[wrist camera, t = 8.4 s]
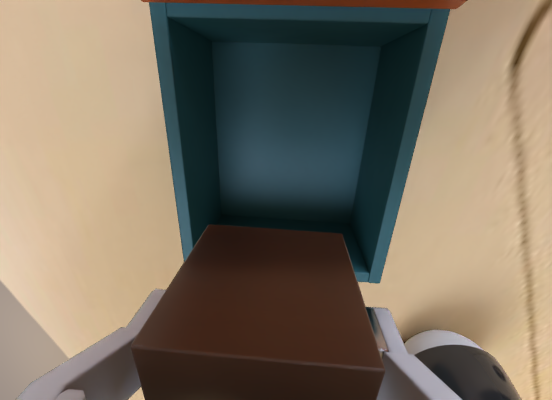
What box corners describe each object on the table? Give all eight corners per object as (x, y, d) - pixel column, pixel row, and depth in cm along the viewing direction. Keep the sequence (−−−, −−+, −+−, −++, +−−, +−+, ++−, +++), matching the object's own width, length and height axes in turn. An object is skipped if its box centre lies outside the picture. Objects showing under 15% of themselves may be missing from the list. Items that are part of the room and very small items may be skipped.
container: (355, 226, 24) (379, 283, 17) (216, 217, 25) (184, 268, 18) (391, 35, 18) (452, 2, 11) (203, 30, 19) (147, -5, 12)
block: (208, 223, 10) (128, 346, 5) (342, 233, 9) (387, 371, 5) (215, 320, 12) (163, 470, 7) (326, 329, 11) (347, 492, 7)
